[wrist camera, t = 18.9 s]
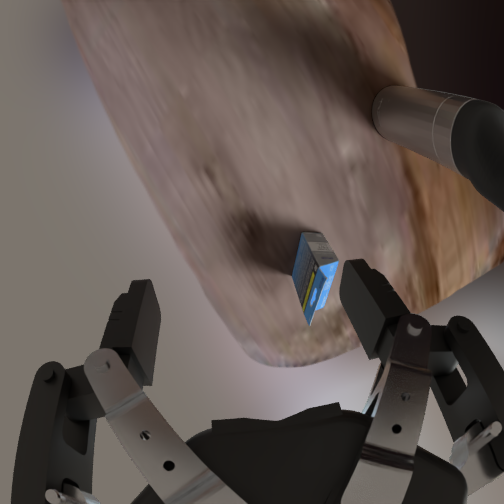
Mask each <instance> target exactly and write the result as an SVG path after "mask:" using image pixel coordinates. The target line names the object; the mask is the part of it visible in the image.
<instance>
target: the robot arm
mask: <svg viewBox="0 0 504 504" xmlns="http://www.w3.org/2000/svg"><path fill="white" fill-rule="evenodd" d="M372 118H373V122H374V125H375V127H376V129H377V131H378V132H379V134H381V135H382V136H383V137H384V138H385V139H387V140H389V141H391V142H394V143H396V144H398V145H401V146H403V147H405V148H407V149H409V150H412V151H414V152H416V153H418V154H420V155H422V156H425V157H427V158H429V159H431V160H433V161H435V162H437V163H439V164H441V165H443V166H445V167H447V168H449V169H451V170H453V171H454V172H456V173H458V174H460V175H462V176H464V177H465V178H467V179H469V180H470V181H471V183H472V184H473V186H474V187H475V188H476V190H477V191H478V192H479V193H480V194H481V195H482V196H484V197H485V198H486V199H488V200H489V201H490V202H492V203H493V204H494V205H496V206H497V207H498V208H500V209H501V210H502V211H503V212H504V111H503V110H502V109H501V108H499V107H498V106H496V105H495V104H492V103H489V102H486V101H482V100H478V99H473V98H469V97H465V96H460V95H455V94H449V93H444V92H439V91H433V90H426V89H420V88H413V87H405V86H388V87H385V88H384V89H382V90H381V91H380V92H379V93H378V94H377V96H376V98H375V100H374V103H373V107H372ZM340 300H341V303H342V305H343V307H344V309H345V311H346V313H347V315H348V317H349V319H350V321H351V323H352V325H353V327H354V329H355V331H356V333H357V335H358V337H359V339H360V341H361V343H362V345H363V348H364V350H365V352H366V354H367V355H368V358H369V360H371V359H375V358H379V359H380V360H381V363H380V365H379V368H378V371H377V374H376V377H375V380H374V383H373V386H372V389H371V392H370V395H369V397H368V401H367V403H366V405H365V407H364V409H363V411H362V413H360V412H355V411H351V410H341V407H340V404H339V402H337V403H332V404H328V405H323V406H318V407H313V408H309V409H306V410H304V411H302V412H299V413H297V414H295V415H292V416H290V417H287V418H285V419H282V420H279V421H270V420H259V419H249V418H237V419H225V420H212V428H211V429H207V430H205V431H202V432H200V433H198V434H196V435H195V436H193V437H191V438H190V439H189V440H187V441H186V442H184V441H183V440H182V439H181V438H180V437H179V435H178V434H177V433H176V432H175V431H174V430H173V428H172V427H171V426H170V425H169V424H168V422H167V421H166V420H165V419H164V418H163V416H162V415H161V414H160V412H159V411H158V410H157V408H156V407H155V406H154V405H153V403H152V402H151V401H150V400H149V398H148V397H147V396H146V394H145V393H144V392H143V391H142V389H143V386H152V381H153V373H154V365H155V357H156V349H157V343H158V336H159V329H160V323H161V314H160V313H161V312H160V308H159V304H158V301H157V298H156V294H155V291H154V288H153V284H152V281H151V280H150V279H146V280H145V279H144V280H133V281H132V282H131V285H130V288H129V291H128V293H122V294H121V295H120V296H119V298H118V299H117V300H116V301H115V302H114V305H113V308H112V311H111V314H110V316H109V321H108V323H107V326H106V329H105V332H104V335H103V338H102V341H101V345H100V348H99V349H98V350H96V351H94V352H92V353H91V354H90V355H89V356H88V357H87V359H86V360H85V363H84V365H81V366H77V367H73V368H69V369H64V367H63V366H62V365H61V364H60V363H58V362H55V361H52V362H48V363H45V364H44V365H42V366H41V367H40V368H39V369H38V371H37V373H36V375H35V378H34V381H33V384H32V388H31V391H30V395H29V398H28V402H27V406H26V410H25V414H24V418H23V422H22V427H21V431H20V436H19V441H18V447H17V453H16V460H15V466H14V474H13V483H12V494H11V504H101V503H100V502H99V500H98V499H97V498H96V497H95V496H93V495H92V473H93V471H92V470H93V455H94V442H95V432H96V422H97V418H100V417H106V420H107V422H108V423H109V425H110V427H111V428H112V430H113V432H114V433H115V435H116V437H117V438H118V440H119V441H120V443H121V445H122V446H123V448H124V449H125V451H126V452H127V454H128V455H129V457H130V458H131V460H132V461H133V462H134V464H135V465H136V467H137V468H138V469H139V471H140V472H141V473H142V475H143V476H144V478H145V479H146V480H147V482H148V483H149V484H148V485H147V486H146V487H145V488H144V490H143V491H142V492H141V493H140V494H139V495H138V496H137V497H136V498H135V499H134V501H133V502H132V503H131V504H466V503H467V497H468V496H469V495H470V494H472V493H474V492H475V491H477V490H478V489H480V488H481V487H483V486H485V485H486V484H488V483H490V482H492V481H494V480H496V479H498V478H499V477H501V476H503V475H504V371H503V369H502V367H501V366H500V364H499V362H498V361H497V359H496V357H495V355H494V354H493V352H492V351H491V349H490V348H489V346H488V345H487V343H486V341H485V340H484V338H483V337H482V335H481V334H480V333H479V331H478V329H477V328H476V326H475V325H474V324H473V322H471V321H470V320H469V319H467V318H466V317H463V316H454V317H452V318H451V319H450V320H449V322H448V324H447V326H439V325H430V323H429V322H428V321H427V320H426V319H425V318H424V317H422V316H420V315H418V314H412V313H410V311H409V310H408V308H407V307H406V305H405V304H404V303H403V301H402V300H401V298H400V297H399V295H398V294H397V293H396V291H394V289H393V287H392V286H391V285H390V283H389V282H388V280H387V279H386V278H385V276H384V275H383V274H381V273H380V272H378V271H377V270H376V269H371V268H370V267H369V266H368V264H367V263H366V262H365V260H364V259H355V260H346V261H345V263H344V267H343V273H342V279H341V284H340ZM458 364H459V365H460V367H461V369H462V370H463V372H464V374H465V376H466V378H467V383H468V385H467V387H466V385H465V383H464V381H463V379H462V377H461V375H460V373H459V371H458V370H457V368H456V366H457V365H458ZM430 387H431V389H432V391H433V394H434V396H435V398H436V400H437V403H438V405H439V407H440V410H441V412H442V414H443V417H444V419H445V421H446V424H447V426H448V429H449V431H450V434H451V436H452V439H453V442H454V444H453V447H452V454H451V456H450V463H449V462H447V461H445V460H443V459H441V458H439V457H438V456H436V455H434V454H432V453H430V452H429V451H427V450H425V449H423V448H421V447H420V446H418V445H417V444H418V440H419V436H420V432H421V428H422V424H423V420H424V415H425V410H426V406H427V401H428V395H429V389H430Z"/></svg>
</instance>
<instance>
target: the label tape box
mask: <svg viewBox="0 0 504 504" xmlns="http://www.w3.org/2000/svg"><path fill="white" fill-rule="evenodd" d="M338 262H339V260H338V258H337V256H336V255H335V253H334V251H333V250H332V248H331V246H330V245H329V243H328V241H327V240H326V238H325V237H324V235H323V234H322V233H311V232H302V234H301V238H300V242H299V247H298V251H297V255H296V260H295V264H294V269H293V273H292V278H293V281H294V284H295V288H296V291H297V294H298V297H299V300H300V303H301V306H302V309H303V312H304V315H305V317H306V320H307V322H308V324H309V326H310V324H311V321H312V318H313V315H314V312H315V310H318V309H321V308H323V307H324V305H325V302H326V299H327V296H328V293H329V290H330V287H331V284H332V281H333V278H334V275H335V272H336V269H337V266H338Z"/></svg>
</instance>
